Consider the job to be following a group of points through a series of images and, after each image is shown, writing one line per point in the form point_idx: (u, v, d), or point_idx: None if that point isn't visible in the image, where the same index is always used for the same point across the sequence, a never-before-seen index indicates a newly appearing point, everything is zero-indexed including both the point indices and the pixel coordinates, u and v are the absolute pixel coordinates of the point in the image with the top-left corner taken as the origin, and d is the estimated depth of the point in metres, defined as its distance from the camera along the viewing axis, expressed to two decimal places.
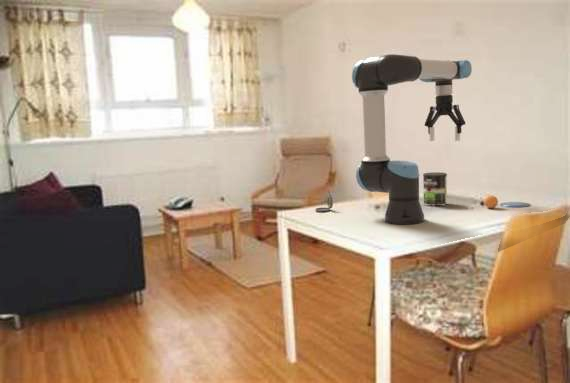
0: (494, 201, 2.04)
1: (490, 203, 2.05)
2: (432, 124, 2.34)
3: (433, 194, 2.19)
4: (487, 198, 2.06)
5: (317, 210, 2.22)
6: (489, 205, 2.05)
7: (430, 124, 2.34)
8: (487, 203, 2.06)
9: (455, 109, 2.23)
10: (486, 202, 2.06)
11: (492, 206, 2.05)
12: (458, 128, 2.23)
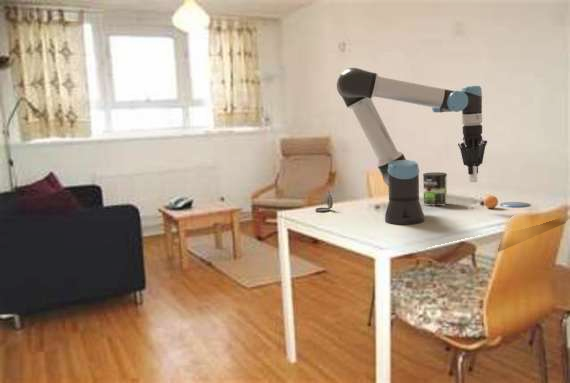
0: (494, 201, 2.04)
1: (490, 203, 2.05)
2: (474, 161, 2.02)
3: (433, 194, 2.19)
4: (487, 198, 2.06)
5: (317, 210, 2.22)
6: (489, 205, 2.05)
7: None
8: (487, 203, 2.06)
9: None
10: (486, 202, 2.06)
11: (492, 206, 2.05)
12: None
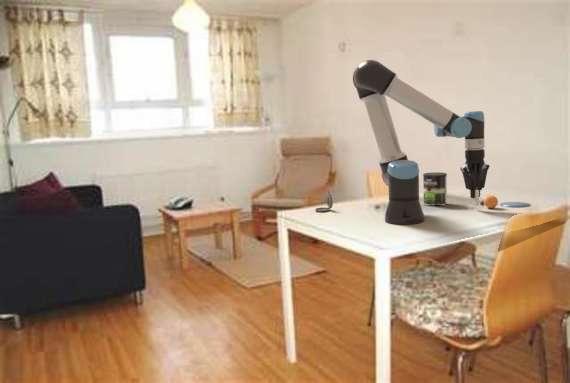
0: (494, 201, 2.04)
1: (490, 203, 2.05)
2: (476, 185, 2.04)
3: (433, 194, 2.19)
4: (487, 198, 2.06)
5: (317, 210, 2.22)
6: (489, 205, 2.05)
7: None
8: (487, 203, 2.06)
9: None
10: (486, 202, 2.06)
11: (492, 206, 2.05)
12: None
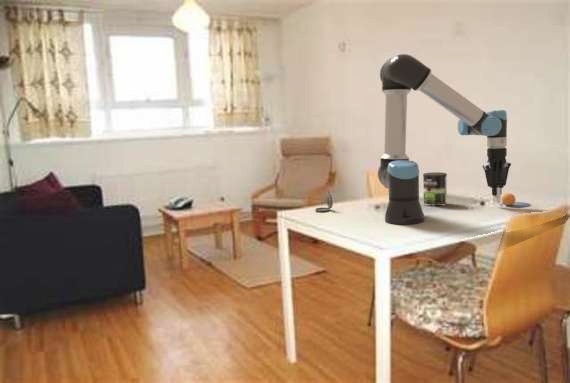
0: (513, 201, 2.08)
1: (515, 199, 2.09)
2: (497, 182, 2.07)
3: (433, 194, 2.19)
4: None
5: (317, 210, 2.22)
6: (514, 197, 2.09)
7: None
8: None
9: None
10: None
11: (513, 196, 2.08)
12: None
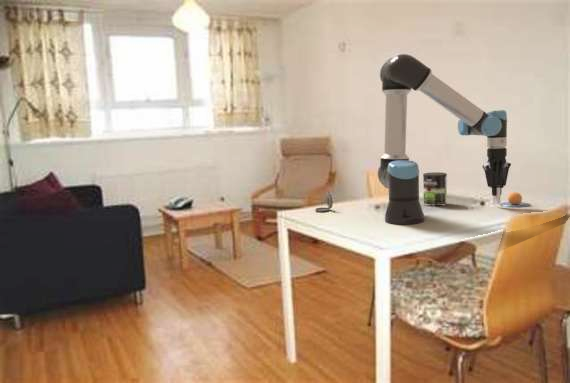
0: (518, 200, 2.08)
1: (519, 203, 2.10)
2: (497, 182, 2.07)
3: (433, 194, 2.19)
4: (513, 204, 2.11)
5: (317, 210, 2.22)
6: None
7: (496, 183, 2.08)
8: None
9: None
10: None
11: (521, 199, 2.10)
12: None
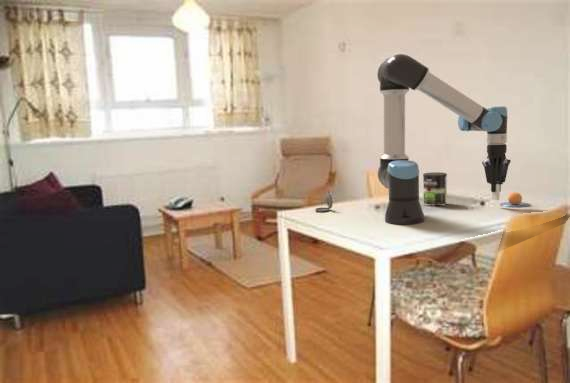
0: (518, 200, 2.08)
1: (519, 203, 2.10)
2: (497, 179, 2.07)
3: (433, 194, 2.19)
4: (513, 204, 2.11)
5: (317, 210, 2.22)
6: None
7: None
8: None
9: None
10: None
11: (521, 199, 2.10)
12: None
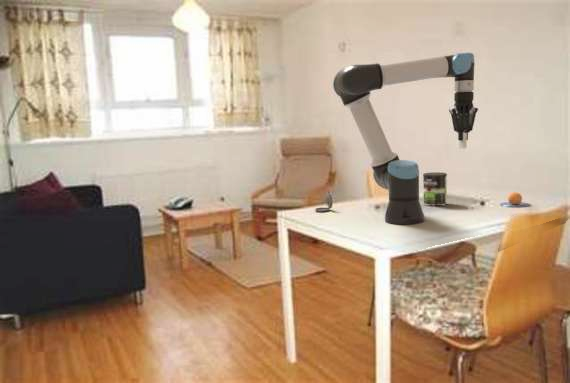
0: (518, 200, 2.08)
1: (519, 203, 2.10)
2: (464, 127, 2.06)
3: (433, 194, 2.19)
4: (513, 204, 2.11)
5: (317, 210, 2.22)
6: None
7: None
8: None
9: None
10: None
11: (521, 199, 2.10)
12: None
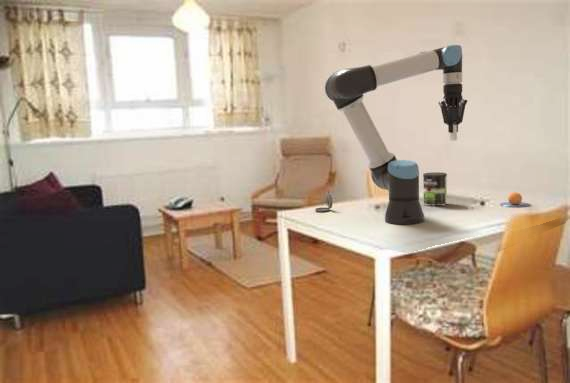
0: (518, 200, 2.08)
1: (519, 203, 2.10)
2: (454, 119, 2.07)
3: (433, 194, 2.19)
4: (513, 204, 2.11)
5: (317, 210, 2.22)
6: None
7: None
8: None
9: None
10: None
11: (521, 199, 2.10)
12: None
